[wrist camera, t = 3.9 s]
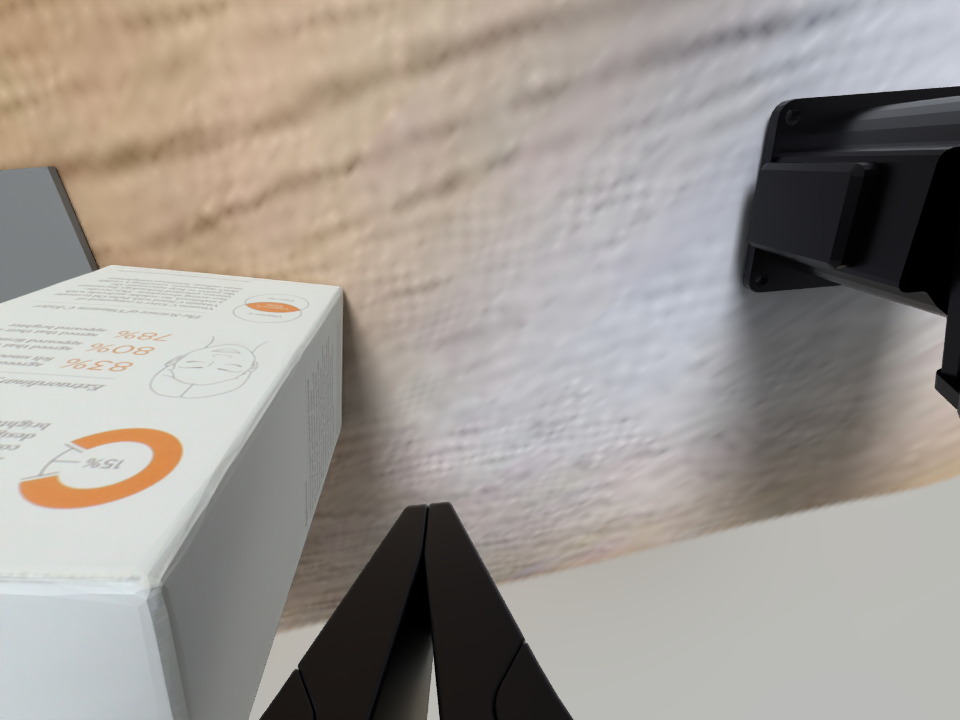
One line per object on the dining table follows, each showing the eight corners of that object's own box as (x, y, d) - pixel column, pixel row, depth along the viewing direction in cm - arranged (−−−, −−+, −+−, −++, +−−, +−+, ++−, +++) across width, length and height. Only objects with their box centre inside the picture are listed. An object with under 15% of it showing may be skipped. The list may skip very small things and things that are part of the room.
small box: (140, 417, 18) (-416, 907, 6) (109, 260, 16) (-911, 574, 4) (346, 428, 19) (211, 858, 7) (348, 284, 17) (149, 581, 5)
